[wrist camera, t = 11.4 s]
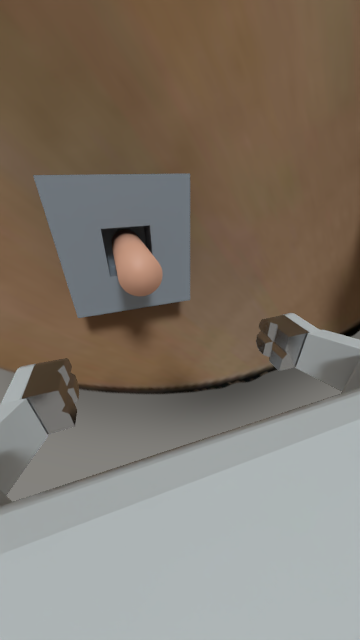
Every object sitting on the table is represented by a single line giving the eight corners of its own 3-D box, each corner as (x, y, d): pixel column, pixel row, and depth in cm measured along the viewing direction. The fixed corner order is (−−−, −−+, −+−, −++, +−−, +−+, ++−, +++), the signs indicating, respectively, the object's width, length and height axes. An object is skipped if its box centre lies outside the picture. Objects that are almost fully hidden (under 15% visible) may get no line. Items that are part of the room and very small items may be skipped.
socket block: (175, 176, 26) (190, 173, 22) (178, 286, 33) (190, 299, 29) (45, 178, 22) (33, 175, 18) (81, 300, 30) (78, 318, 25)
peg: (138, 228, 26) (161, 251, 16) (141, 257, 28) (163, 293, 18) (108, 230, 25) (113, 255, 16) (114, 259, 27) (121, 299, 17)
